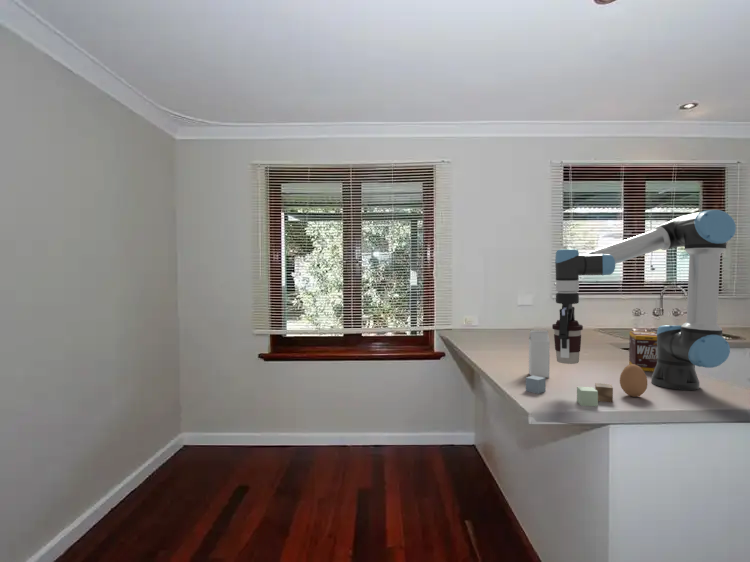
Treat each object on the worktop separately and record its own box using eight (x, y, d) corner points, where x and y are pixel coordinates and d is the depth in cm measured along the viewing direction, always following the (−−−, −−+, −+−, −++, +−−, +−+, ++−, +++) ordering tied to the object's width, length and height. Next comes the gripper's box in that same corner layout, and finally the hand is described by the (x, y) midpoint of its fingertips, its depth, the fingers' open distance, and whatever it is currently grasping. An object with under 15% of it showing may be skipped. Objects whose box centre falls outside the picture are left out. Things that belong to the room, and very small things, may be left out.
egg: (636, 401, 144) (637, 367, 144) (614, 394, 152) (614, 363, 152) (652, 398, 148) (653, 365, 148) (630, 392, 155) (630, 361, 155)
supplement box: (634, 370, 189) (635, 335, 189) (628, 363, 204) (629, 330, 203) (662, 372, 185) (662, 336, 185) (654, 365, 200) (654, 331, 199)
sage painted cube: (592, 402, 144) (592, 387, 144) (597, 406, 139) (597, 391, 139) (576, 401, 145) (576, 386, 145) (581, 405, 140) (581, 390, 140)
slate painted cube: (545, 391, 157) (545, 377, 157) (538, 394, 154) (538, 380, 154) (532, 388, 161) (532, 375, 161) (525, 391, 157) (525, 377, 157)
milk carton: (549, 378, 176) (549, 331, 176) (531, 377, 178) (531, 331, 177) (546, 373, 183) (546, 329, 183) (528, 373, 185) (528, 329, 184)
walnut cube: (611, 398, 148) (611, 384, 147) (612, 402, 143) (612, 388, 143) (595, 397, 150) (595, 382, 150) (595, 401, 145) (596, 386, 145)
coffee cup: (546, 361, 156) (546, 320, 156) (566, 358, 160) (566, 318, 160) (568, 366, 147) (568, 322, 147) (589, 363, 151) (589, 320, 151)
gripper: (562, 290, 164) (562, 349, 165) (548, 293, 146) (549, 359, 147) (583, 291, 160) (584, 351, 160) (572, 294, 142) (573, 361, 143)
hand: (567, 355), depth 154 cm, fingers closed on coffee cup, 9 cm apart
